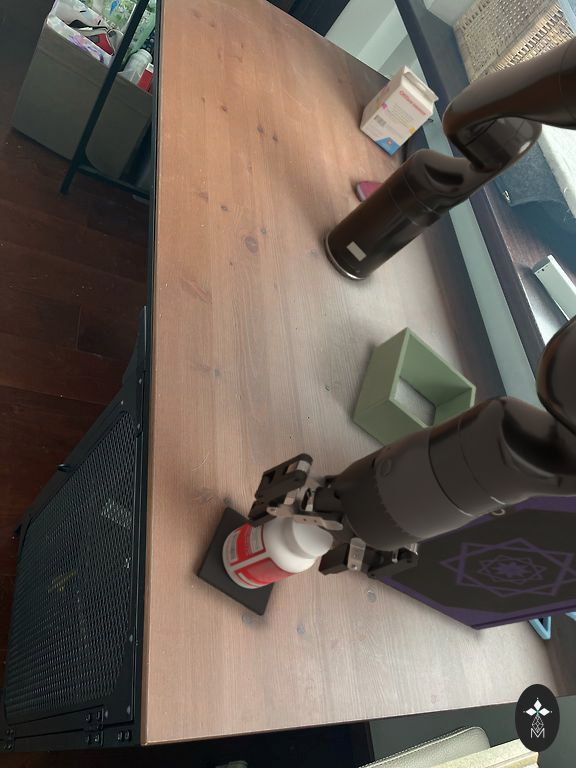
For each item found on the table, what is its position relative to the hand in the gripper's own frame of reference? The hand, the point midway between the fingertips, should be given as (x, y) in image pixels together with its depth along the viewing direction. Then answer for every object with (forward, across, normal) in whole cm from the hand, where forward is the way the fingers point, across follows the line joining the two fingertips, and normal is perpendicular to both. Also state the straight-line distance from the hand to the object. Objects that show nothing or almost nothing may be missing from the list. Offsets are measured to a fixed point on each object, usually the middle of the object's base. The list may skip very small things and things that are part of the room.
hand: (288, 541), depth 58 cm
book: (+8, -22, -11) cm, 26 cm away
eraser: (+8, +1, -75) cm, 75 cm away
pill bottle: (+7, 0, 0) cm, 7 cm away
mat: (+8, 0, 0) cm, 8 cm away
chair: (+8, -44, -19) cm, 49 cm away
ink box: (+8, +6, -95) cm, 96 cm away
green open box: (+8, -15, -33) cm, 37 cm away
